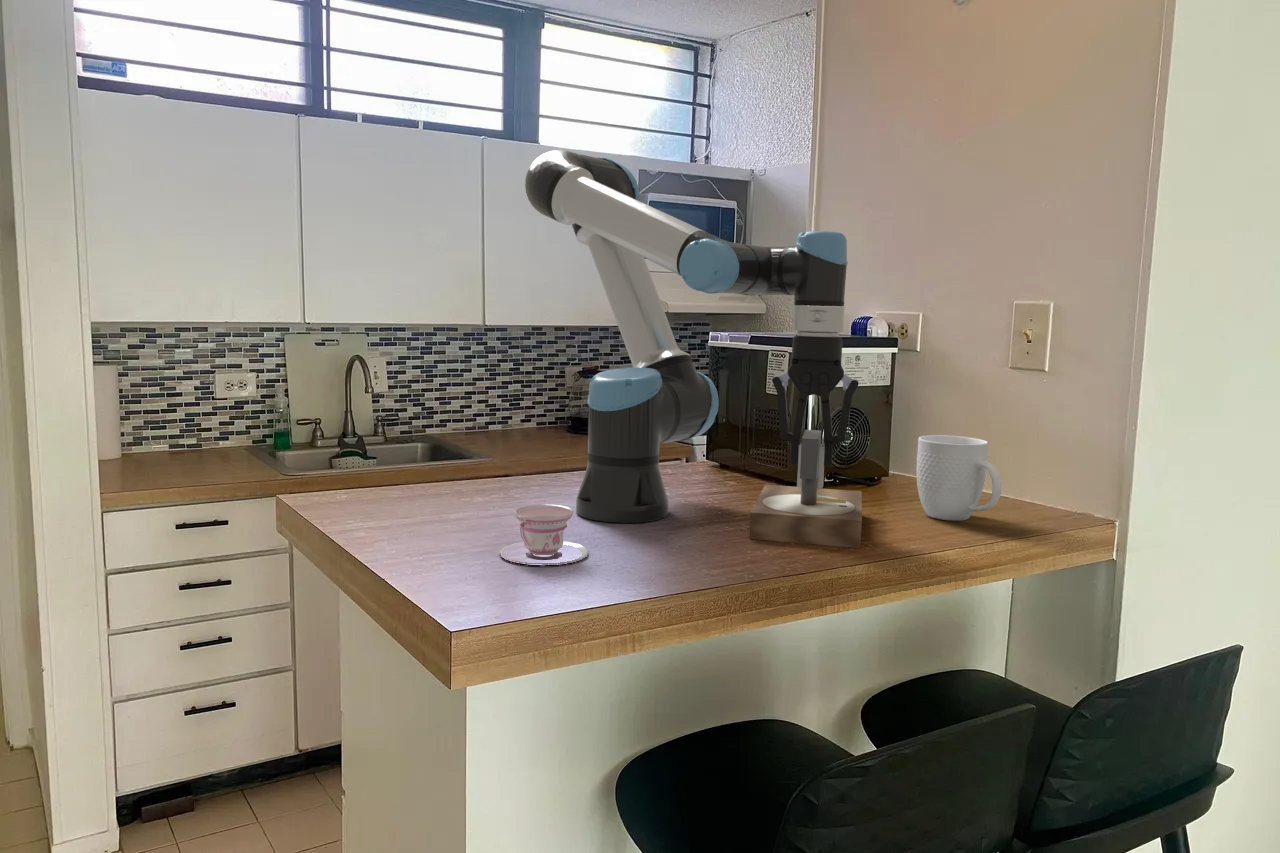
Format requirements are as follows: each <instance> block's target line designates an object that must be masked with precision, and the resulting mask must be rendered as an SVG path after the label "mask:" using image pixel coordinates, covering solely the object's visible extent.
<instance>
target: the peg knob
mask: <svg viewBox="0 0 1280 853" xmlns="http://www.w3.org/2000/svg"><path fill="white" fill-rule="evenodd" d="M821 437H822V430H818V429H805V431H804V433H803V435H802V436H801V443H802V445H801V465H800V478H801V479H802V482H801V502H800V503H801V504H805V505H815V504H816V501H819V502H833V503H846V499H833V498H819V497H817V488H818V469H819V449H820V444H822V442H821V440H822V438H821Z"/></svg>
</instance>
